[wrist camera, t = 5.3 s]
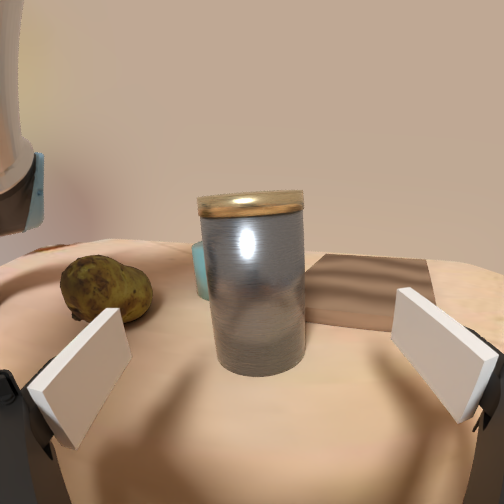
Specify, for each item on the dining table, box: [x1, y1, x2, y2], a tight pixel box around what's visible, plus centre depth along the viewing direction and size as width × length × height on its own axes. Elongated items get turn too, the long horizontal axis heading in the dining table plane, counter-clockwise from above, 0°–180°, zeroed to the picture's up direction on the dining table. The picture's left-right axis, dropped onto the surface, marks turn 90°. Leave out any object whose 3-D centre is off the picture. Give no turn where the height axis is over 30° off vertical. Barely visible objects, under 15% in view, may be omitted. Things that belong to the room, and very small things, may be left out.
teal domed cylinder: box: [192, 241, 209, 301], centre depth 37 cm, size 10×10×6 cm
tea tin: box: [197, 190, 305, 377], centre depth 21 cm, size 7×7×12 cm
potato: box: [60, 255, 153, 323], centre depth 28 cm, size 8×13×8 cm, turn 157°
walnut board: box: [305, 254, 436, 332], centre depth 33 cm, size 20×16×2 cm
